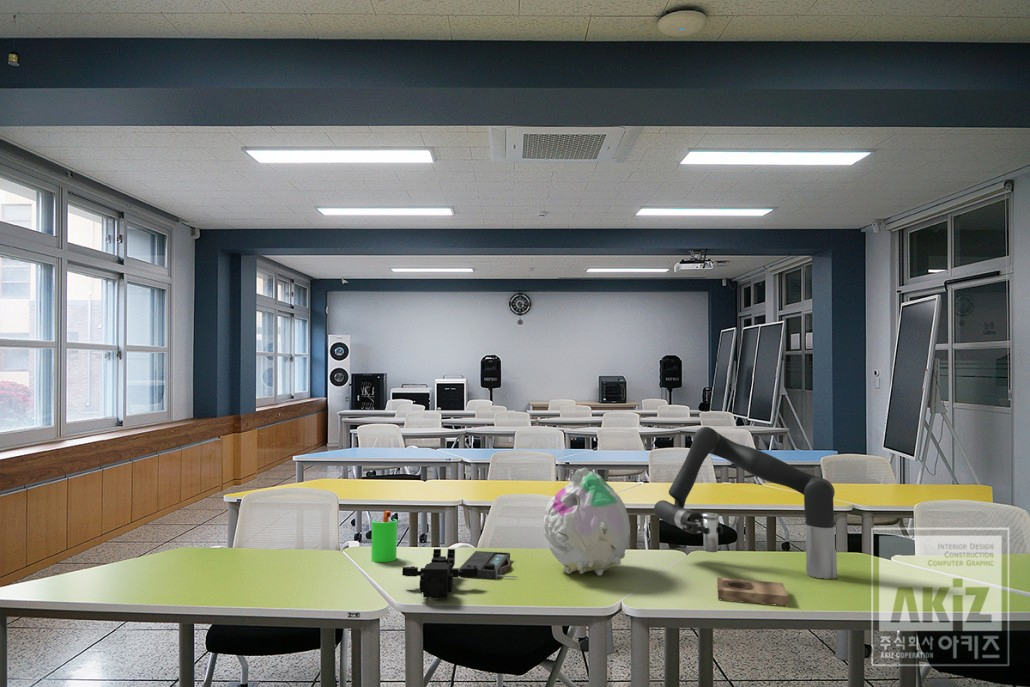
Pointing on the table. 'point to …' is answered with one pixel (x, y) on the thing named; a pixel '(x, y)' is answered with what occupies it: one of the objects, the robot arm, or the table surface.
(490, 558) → the radio
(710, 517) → the silver metal peg
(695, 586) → the table surface
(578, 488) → the sculpture
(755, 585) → the block
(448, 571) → the toy
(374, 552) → the green pencil cup
